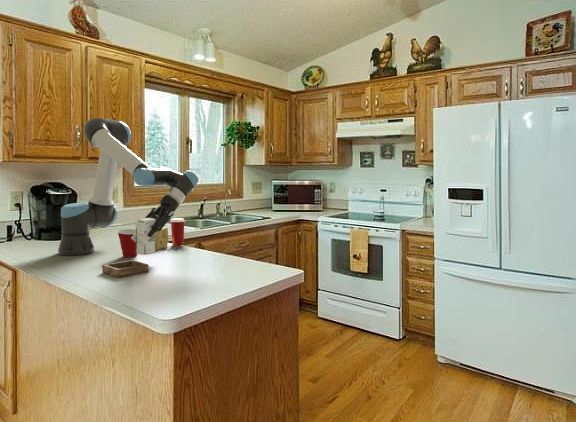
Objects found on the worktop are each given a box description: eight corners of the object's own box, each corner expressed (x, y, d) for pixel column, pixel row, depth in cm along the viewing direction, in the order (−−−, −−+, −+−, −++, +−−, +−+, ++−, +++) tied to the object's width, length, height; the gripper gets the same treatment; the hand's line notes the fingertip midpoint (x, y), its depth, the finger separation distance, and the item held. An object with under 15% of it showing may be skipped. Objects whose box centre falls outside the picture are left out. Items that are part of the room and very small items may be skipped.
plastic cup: (129, 259, 175) (128, 232, 174) (112, 257, 179) (111, 230, 178) (148, 255, 184) (147, 229, 183) (131, 253, 189) (130, 228, 188)
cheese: (158, 249, 199) (158, 229, 199) (139, 248, 202) (138, 229, 201) (168, 246, 210) (168, 227, 209) (150, 245, 212) (149, 226, 211)
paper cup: (188, 244, 216) (187, 218, 215) (179, 246, 209) (179, 219, 208) (175, 243, 219) (175, 217, 218) (167, 245, 212) (166, 219, 211)
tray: (102, 272, 150) (102, 264, 150) (132, 267, 159) (132, 260, 159) (118, 278, 143) (118, 269, 142) (148, 272, 152) (148, 264, 152)
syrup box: (147, 251, 170) (147, 217, 168) (156, 253, 166) (156, 218, 165) (135, 253, 165) (135, 218, 164) (144, 255, 162) (144, 219, 160)
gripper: (190, 207, 170) (156, 250, 159) (165, 204, 182) (132, 243, 171) (180, 195, 165) (144, 238, 154) (154, 193, 177) (120, 232, 166)
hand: (137, 241), depth 162 cm, fingers closed on syrup box, 6 cm apart
